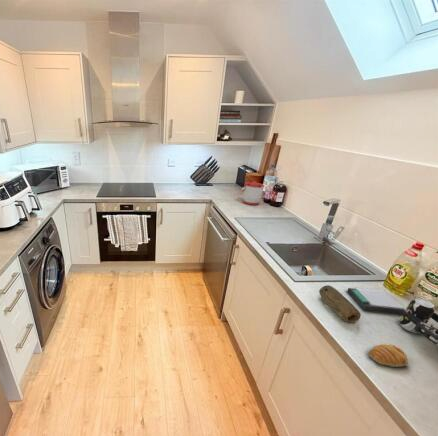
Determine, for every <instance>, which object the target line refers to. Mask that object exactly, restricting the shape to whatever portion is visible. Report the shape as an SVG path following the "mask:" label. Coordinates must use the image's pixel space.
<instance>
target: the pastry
mask: <svg viewBox="0 0 438 436" xmlns="http://www.w3.org/2000/svg"><path fill="white" fill-rule="evenodd" d="M368 355H369V357H370V358H371V359H372V360H373V361H375V362H376V363H378V364H379V365H383V366H388V367H391V368H394V367H395V368H398V367H405V366H408V365H410V363H409V359H408V357H407V353H406V352H405V351H404V350H403V349H401V348H400V347H398V346H396V345H394V344H379V345H375V346H374V347H373V348H372V349H371V350H369V354H368Z"/></svg>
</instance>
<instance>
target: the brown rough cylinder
mask: <svg viewBox="0 0 438 436" xmlns="http://www.w3.org/2000/svg"><path fill="white" fill-rule="evenodd" d="M318 293H319V296H320V297H321V299H322V300H323V301H324V302H325V303H326V305H328V307H329V308H330V309H331V310H332V311H333V313H335V314H336V315H337V316H338V317H339V318H340V319H342V320H344V322H349V323H355V322H358V321H359V320H360V319H361V317H362V315H361V312H360V311H359V310H358V308H357V307H356V306H355V305H354V304H353V303H351V301H350V300H348V298H346V297H345V296H344V295H343V294H342V293H341V292H340V291H339V290H338V289H336V288H335V287H334V286H331V285H328V284H326V285H323V286H322V287H321V288H320V289H319V290H318Z"/></svg>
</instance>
